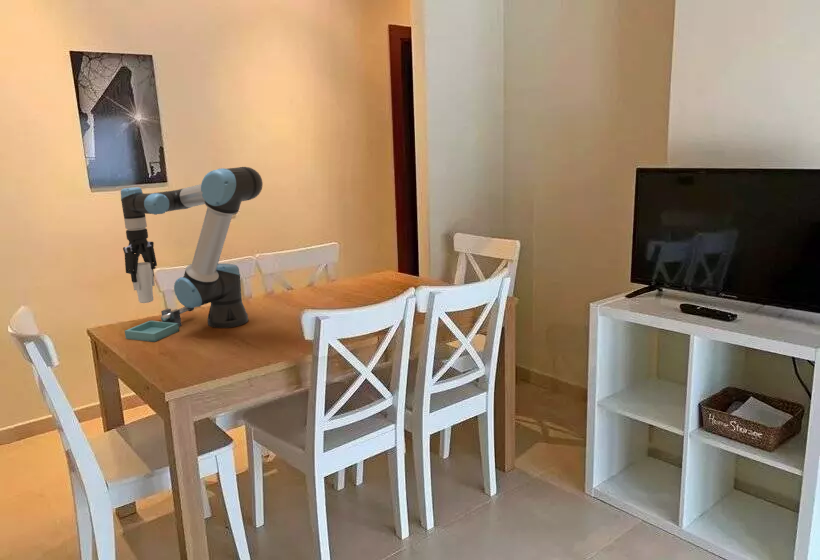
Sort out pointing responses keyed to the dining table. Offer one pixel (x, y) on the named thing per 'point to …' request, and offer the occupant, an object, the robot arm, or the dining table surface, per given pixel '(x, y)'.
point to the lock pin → (182, 310)
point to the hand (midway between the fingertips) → (144, 287)
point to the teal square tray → (151, 331)
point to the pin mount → (172, 316)
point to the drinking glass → (145, 282)
